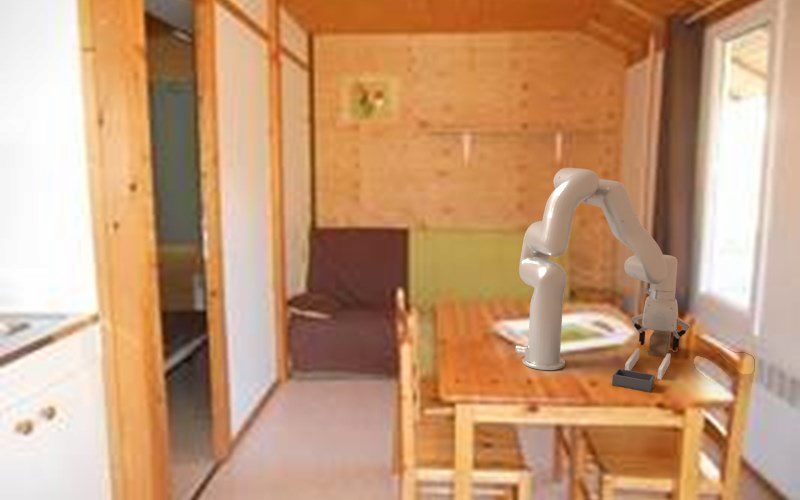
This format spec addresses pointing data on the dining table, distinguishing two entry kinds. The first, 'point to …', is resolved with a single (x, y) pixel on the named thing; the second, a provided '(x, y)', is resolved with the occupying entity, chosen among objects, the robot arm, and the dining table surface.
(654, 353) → the walnut block
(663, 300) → the robot arm
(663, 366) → the channel
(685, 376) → the dining table surface
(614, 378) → the bin
